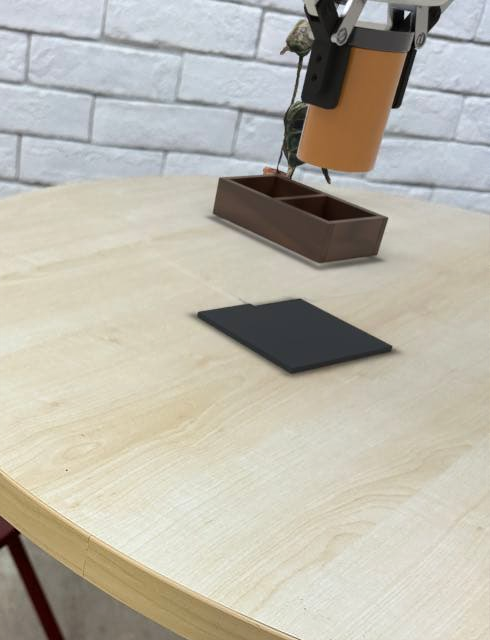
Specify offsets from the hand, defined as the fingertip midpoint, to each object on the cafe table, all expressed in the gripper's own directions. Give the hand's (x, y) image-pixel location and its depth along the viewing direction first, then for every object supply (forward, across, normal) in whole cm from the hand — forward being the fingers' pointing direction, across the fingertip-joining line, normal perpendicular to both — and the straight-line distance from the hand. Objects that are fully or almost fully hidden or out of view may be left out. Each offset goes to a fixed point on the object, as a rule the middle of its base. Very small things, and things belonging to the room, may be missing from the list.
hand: (351, 102), depth 63 cm
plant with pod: (+18, +33, +36) cm, 52 cm away
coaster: (+18, 0, 0) cm, 18 cm away
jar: (+4, 0, 0) cm, 4 cm away
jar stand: (+18, +20, +21) cm, 34 cm away
